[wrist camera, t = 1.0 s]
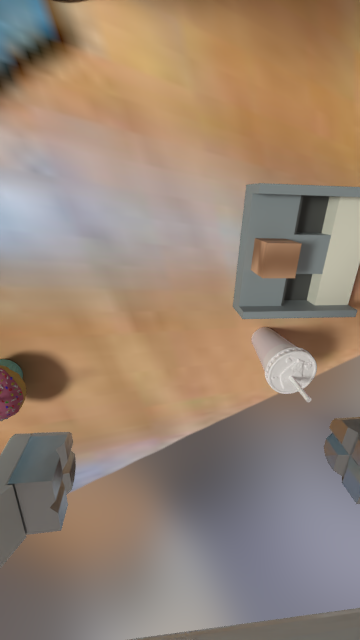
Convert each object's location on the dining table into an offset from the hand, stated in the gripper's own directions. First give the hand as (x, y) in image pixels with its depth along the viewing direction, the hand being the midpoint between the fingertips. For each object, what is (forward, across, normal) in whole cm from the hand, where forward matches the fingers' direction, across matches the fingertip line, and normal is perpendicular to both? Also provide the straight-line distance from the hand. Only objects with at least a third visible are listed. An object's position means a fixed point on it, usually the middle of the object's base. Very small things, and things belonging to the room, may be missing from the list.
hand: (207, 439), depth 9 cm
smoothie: (+31, -16, +12) cm, 37 cm away
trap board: (+31, -18, -1) cm, 36 cm away
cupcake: (+31, +22, +17) cm, 42 cm away
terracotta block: (+28, -14, -1) cm, 32 cm away
